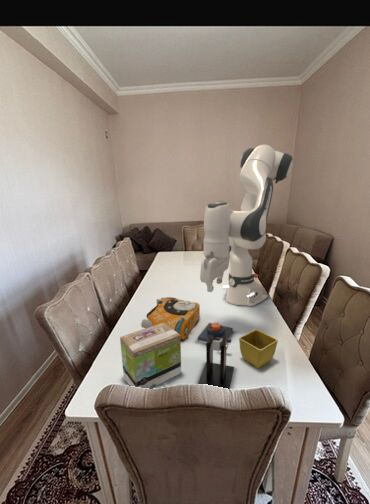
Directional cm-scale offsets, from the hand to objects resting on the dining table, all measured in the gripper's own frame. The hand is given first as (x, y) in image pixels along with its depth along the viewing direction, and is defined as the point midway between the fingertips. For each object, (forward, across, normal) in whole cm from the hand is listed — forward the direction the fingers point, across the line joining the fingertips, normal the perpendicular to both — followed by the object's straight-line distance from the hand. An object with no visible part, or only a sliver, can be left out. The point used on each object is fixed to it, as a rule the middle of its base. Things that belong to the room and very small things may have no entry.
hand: (214, 287), depth 91 cm
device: (+21, +4, +20) cm, 29 cm away
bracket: (+21, -22, -9) cm, 32 cm away
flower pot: (+21, -9, -18) cm, 29 cm away
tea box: (+21, -29, +9) cm, 37 cm away
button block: (+21, 0, -1) cm, 21 cm away
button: (+17, 0, -1) cm, 17 cm away
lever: (+13, -17, -8) cm, 23 cm away
